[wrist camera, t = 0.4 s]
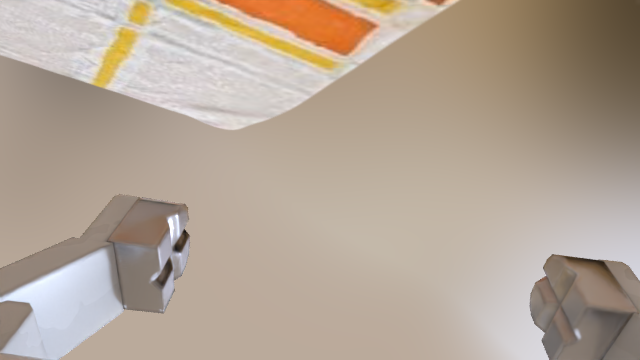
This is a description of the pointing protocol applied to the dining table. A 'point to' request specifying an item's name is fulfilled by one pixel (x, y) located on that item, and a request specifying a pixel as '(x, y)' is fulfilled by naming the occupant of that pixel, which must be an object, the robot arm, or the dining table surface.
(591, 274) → the robot arm
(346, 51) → the dining table surface
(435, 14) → the dining table surface
